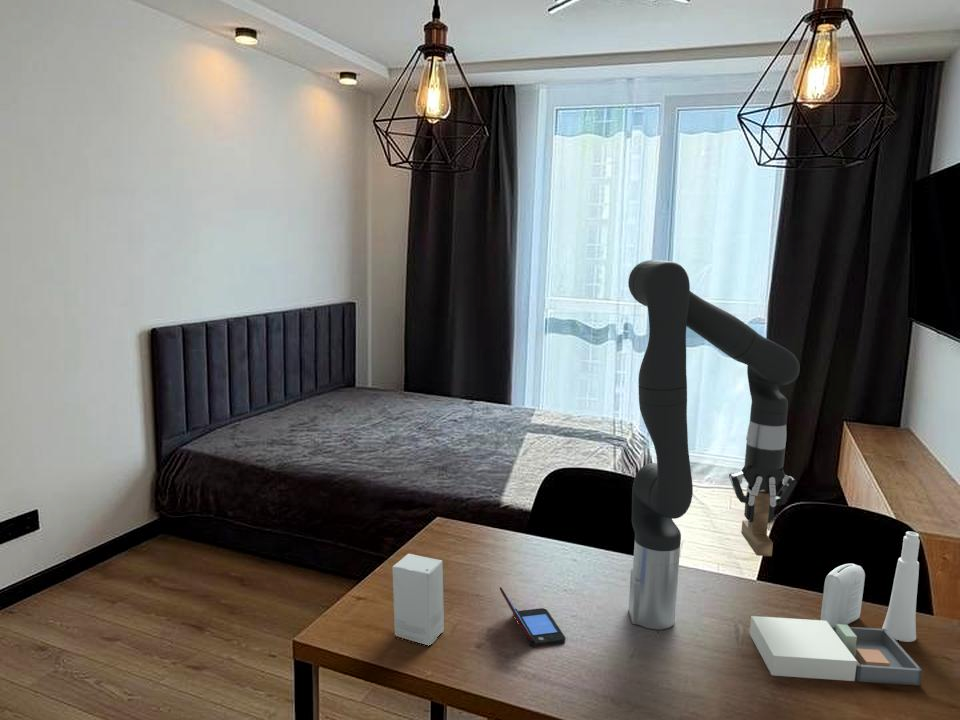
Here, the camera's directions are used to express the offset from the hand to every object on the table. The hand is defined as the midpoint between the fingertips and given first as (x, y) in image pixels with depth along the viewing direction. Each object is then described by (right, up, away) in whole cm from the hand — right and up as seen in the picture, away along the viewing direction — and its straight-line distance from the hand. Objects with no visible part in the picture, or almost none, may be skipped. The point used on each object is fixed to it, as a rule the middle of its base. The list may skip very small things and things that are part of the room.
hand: (758, 520), depth 145 cm
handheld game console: (-49, -21, -6) cm, 54 cm away
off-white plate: (+3, -23, -13) cm, 27 cm away
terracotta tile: (+15, -21, -17) cm, 31 cm away
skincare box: (-72, -21, -8) cm, 75 cm away
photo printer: (+17, -21, 0) cm, 28 cm away
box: (+16, -24, -14) cm, 32 cm away
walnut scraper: (0, -5, +1) cm, 5 cm away
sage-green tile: (+11, -20, -12) cm, 26 cm away
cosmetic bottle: (+27, -22, -5) cm, 35 cm away
